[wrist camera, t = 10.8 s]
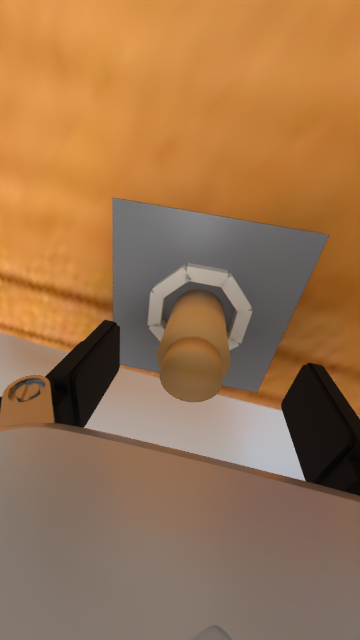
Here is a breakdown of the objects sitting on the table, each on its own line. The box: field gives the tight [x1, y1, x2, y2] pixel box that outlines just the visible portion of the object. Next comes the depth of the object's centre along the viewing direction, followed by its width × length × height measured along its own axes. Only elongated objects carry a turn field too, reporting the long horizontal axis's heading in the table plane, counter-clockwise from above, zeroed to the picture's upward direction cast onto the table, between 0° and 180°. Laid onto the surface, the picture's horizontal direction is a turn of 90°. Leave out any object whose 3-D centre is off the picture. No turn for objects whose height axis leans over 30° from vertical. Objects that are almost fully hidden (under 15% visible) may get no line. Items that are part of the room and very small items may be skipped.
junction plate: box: [113, 198, 329, 393], centre depth 17 cm, size 14×14×2 cm
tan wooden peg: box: [157, 289, 231, 402], centre depth 13 cm, size 4×4×8 cm
